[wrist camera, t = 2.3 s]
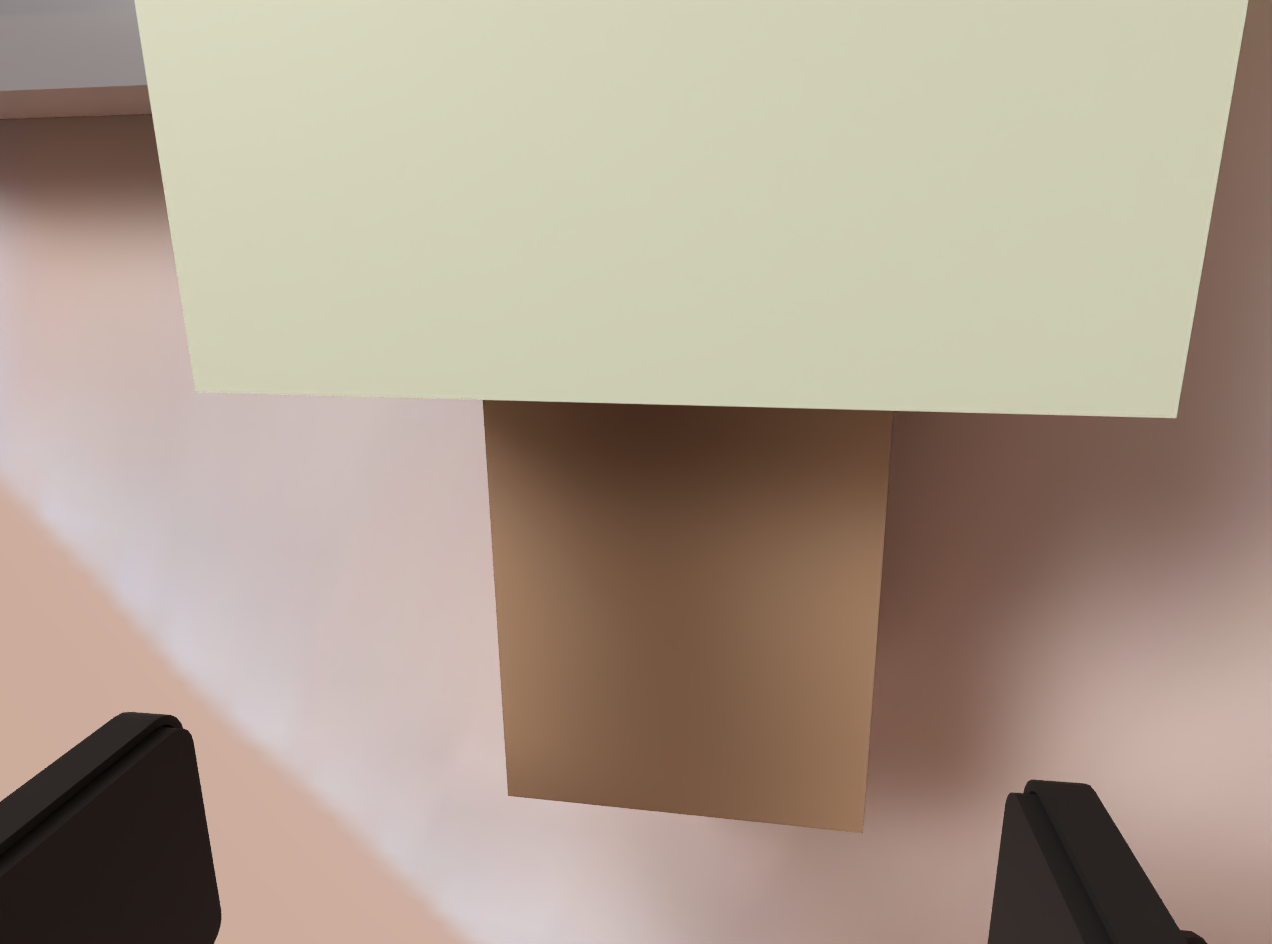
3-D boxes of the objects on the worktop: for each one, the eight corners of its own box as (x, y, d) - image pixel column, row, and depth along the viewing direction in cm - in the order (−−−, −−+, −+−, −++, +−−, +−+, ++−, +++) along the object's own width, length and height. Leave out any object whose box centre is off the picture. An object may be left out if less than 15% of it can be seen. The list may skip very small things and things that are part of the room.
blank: (875, 86, 13) (923, 11, 9) (841, 655, 16) (862, 832, 11) (568, 99, 14) (459, 35, 10) (586, 637, 17) (507, 795, 12)
